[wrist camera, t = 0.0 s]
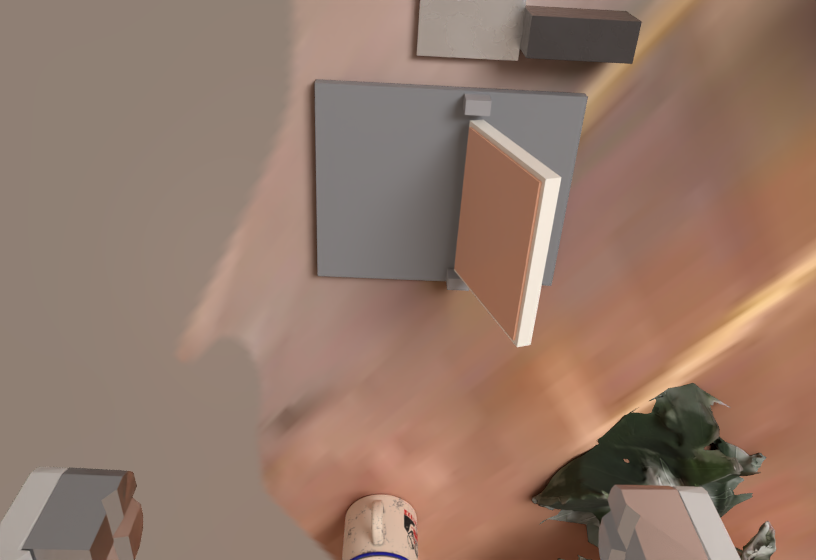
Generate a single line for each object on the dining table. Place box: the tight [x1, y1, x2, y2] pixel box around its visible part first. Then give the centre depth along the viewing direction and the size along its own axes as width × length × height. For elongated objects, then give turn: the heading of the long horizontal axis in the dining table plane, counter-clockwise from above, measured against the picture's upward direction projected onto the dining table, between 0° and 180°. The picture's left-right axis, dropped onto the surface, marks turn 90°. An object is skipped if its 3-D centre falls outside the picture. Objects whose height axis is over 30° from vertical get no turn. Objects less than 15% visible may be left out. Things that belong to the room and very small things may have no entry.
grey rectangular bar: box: [417, 0, 641, 64], centre depth 52 cm, size 16×5×4 cm, turn 87°
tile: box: [454, 120, 561, 347], centre depth 54 cm, size 12×14×1 cm
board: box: [315, 79, 588, 291], centre depth 60 cm, size 18×22×3 cm
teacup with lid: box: [342, 494, 418, 560], centre depth 78 cm, size 12×9×12 cm
